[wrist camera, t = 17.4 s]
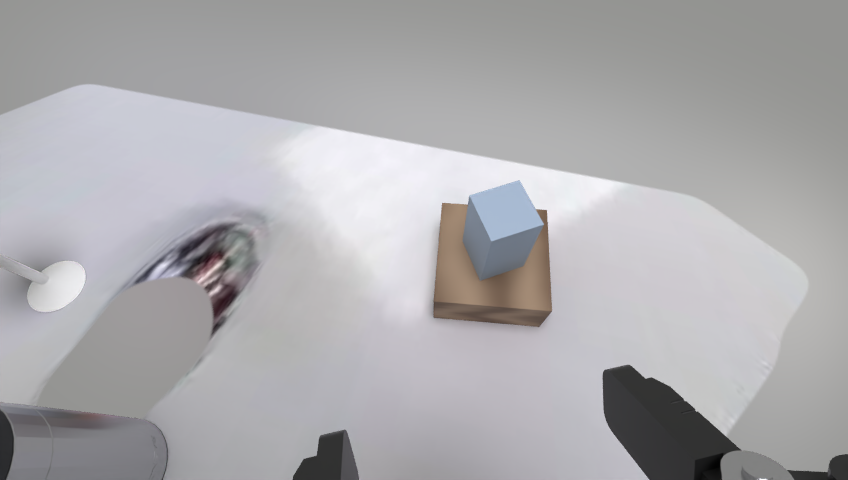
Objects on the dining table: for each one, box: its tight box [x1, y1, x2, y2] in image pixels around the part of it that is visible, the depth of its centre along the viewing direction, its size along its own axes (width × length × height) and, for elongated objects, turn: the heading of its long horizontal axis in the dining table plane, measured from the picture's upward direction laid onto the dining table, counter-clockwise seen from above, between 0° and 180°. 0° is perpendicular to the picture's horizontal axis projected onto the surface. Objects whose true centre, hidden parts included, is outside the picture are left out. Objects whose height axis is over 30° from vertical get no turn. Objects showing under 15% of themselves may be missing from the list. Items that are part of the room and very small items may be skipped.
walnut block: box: [434, 203, 552, 327], centre depth 48 cm, size 12×12×6 cm
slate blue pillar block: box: [463, 181, 544, 281], centre depth 41 cm, size 5×5×9 cm
